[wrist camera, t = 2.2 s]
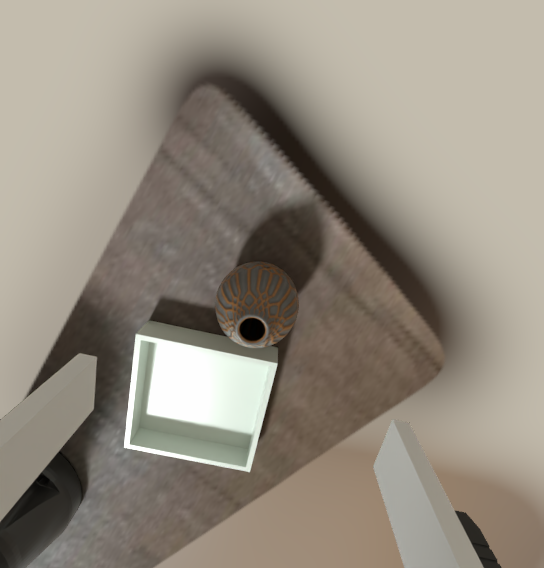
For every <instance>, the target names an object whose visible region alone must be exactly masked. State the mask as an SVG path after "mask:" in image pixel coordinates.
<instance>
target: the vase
mask: <svg viewBox="0 0 544 568" xmlns="http://www.w3.org/2000/svg"><path fill="white" fill-rule="evenodd" d="M298 308H299V301H298V294H297V291H296V288H295V285H294V283H293V281H292V280H291V278H290V277H289V276H288V275H287V274H286V273H285V272H284V271H283V270H282V269H280V268H279V267H277V266H275V265H273V264H270V263H267V262H260V261H255V262H249V263H245V264H242V265H240V266H238V267H236V268H235V269H233V270H232V271H231V272H230V273H229V274H228V275H227V276H226V277H225V278H224V280H223V281H222V283H221V285H220V287H219V289H218V291H217V295H216V301H215V310H216V316H217V319H218V322H219V324H220V327H221V328H222V330H223V331H224V333H225V334H226V335H227V336H228V337H229V338H230V339H231V340H233V341H234V342H236V343H237V344H239V345H242V346H245V347H249V348H264V347H268V346H271V345H273V344H275V343H277V342H279V341H280V340H281V339H283V338H284V337H285V336H286V335H287V334H288V332H289V331H290V330H291V328H292V327H293V325H294V323H295V321H296V318H297V314H298Z"/></svg>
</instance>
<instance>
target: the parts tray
mask: <svg viewBox="0 0 544 568" xmlns="http://www.w3.org/2000/svg"><path fill="white" fill-rule="evenodd" d="M277 365H278V347H273V346H268V347H264V348H249V347H245V346H242V345H239V344H237V343H236V342H234V341H233V340H231V339H230V338H229V337H226V336H221V335H216V334H211V333H207V332H202V331H197V330H193V329H188V328H183V327H178V326H174V325H169V324H164V323H159V322H155V321H150V320H149V321H148V322H147V323H146V324H145V325H144V326H143V327H142V328H141V329H140V330H139V331H138V332H137V333H136V338H135V347H134V357H133V366H132V376H131V386H130V395H129V405H128V414H127V424H126V434H125V443H124V448H129V449H134V450H140V451H145V452H150V453H155V454H160V455H165V456H170V457H175V458H181V459H186V460H191V461H196V462H201V463H206V464H211V465H216V466H222V467H227V468H232V469H237V470H242V471H247V472H250V469H251V465H252V462H253V458H254V454H255V450H256V446H257V442H258V438H259V434H260V431H261V427H262V423H263V419H264V415H265V411H266V407H267V403H268V400H269V396H270V392H271V388H272V384H273V380H274V376H275V372H276V369H277Z"/></svg>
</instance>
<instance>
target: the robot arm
mask: <svg viewBox="0 0 544 568" xmlns="http://www.w3.org/2000/svg"><path fill="white" fill-rule="evenodd" d="M96 366H97V357H95V356H91V355H86V354H81V353H79V354H78V355H76V356H75V357H74V358H73V359H72V360H71V361H69V362H68V363H67V364H66V365H65V366H63V367H62V368H61V369H60V370H59V371H58V372H56V373H55V374H54V375H53V376H52V377H50V378H49V379H48V380H47V381H46V382H45V383H43V384H42V385H41V386H40V387H39V388H37V389H36V390H35V391H34V392H33V393H32V394H30V395H29V396H28V397H27V398H26V399H24V400H23V401H22V402H21V403H20V404H19V405H17V406H16V407H15V408H14V409H13V410H11V411H10V412H9V413H8V414H7V415H5V416H4V417H3V418H2V419H0V568H26V567H27V566H28V565H29V564H30V563H31V562H32V561H33V560H34V559H35V558H36V557H37V556H38V555H40V554H41V553H42V552H43V551H44V550H45V549H46V548H47V547H48V546H49V545H50V544H51V543H52V542H53V541H54V540H55V539H56V538H57V537H58V536H59V535H60V534H61V533H62V532H63V531H64V530H65V529H66V527H67V526H68V524H69V522H70V521H71V519H72V518H73V516H74V514H75V513H76V511H77V510H78V508H79V505H80V502H81V485H80V482H79V479H78V476H77V474H76V473H75V471H74V469H73V468H72V466H71V465H70V464H69V462H68V461H67V460H66V459H65V458H64V457H63V456H62V455H61V454H60V453H58V452H59V450H60V449H61V448H62V447H63V446H64V444H65V443H66V442H67V441H68V440H69V438H70V437H71V436H72V435H73V434H74V432H75V431H76V430H77V429H78V428H79V426H80V425H81V424H82V423H83V422H84V420H85V419H86V418H87V417H88V416H89V414H90V413H91V412H92V411H93V410H94V398H95V382H96ZM373 468H374V471H375V474H376V477H377V480H378V484H379V487H380V490H381V493H382V496H383V500H384V503H385V506H386V510H387V513H388V516H389V519H390V522H391V526H392V529H393V532H394V535H395V539H396V542H397V545H398V548H399V551H400V555H401V558H402V561H403V564H404V568H501V566H500V565H499V564H498V563H497V559H496V557H495V556H494V554H493V552H492V550H490V549H489V545H488V543H487V541H486V539H485V538H484V536H483V534H482V532H481V530H480V529H479V528H478V526H477V525H476V524H475V523H474V522H473V521H472V519H470V517H469V516H468V515H467V514H466V513H464V512H459V511H454V509H453V507H452V505H451V504H450V501H449V500H448V497H447V495H446V493H445V491H444V489H443V487H442V485H441V484H440V482H439V480H438V478H437V476H436V474H435V472H434V470H433V468H432V466H431V464H430V462H429V460H428V458H427V456H426V455H425V453H424V451H423V449H422V447H421V445H420V443H419V441H418V439H417V437H416V435H415V433H414V431H413V429H412V427H411V425H410V423H408V422H403V421H399V420H394V419H393V420H392V422H391V424H390V427H389V429H388V432H387V434H386V436H385V439H384V442H383V444H382V446H381V449H380V451H379V454H378V456H377V459H376V461H375V463H374V466H373Z"/></svg>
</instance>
